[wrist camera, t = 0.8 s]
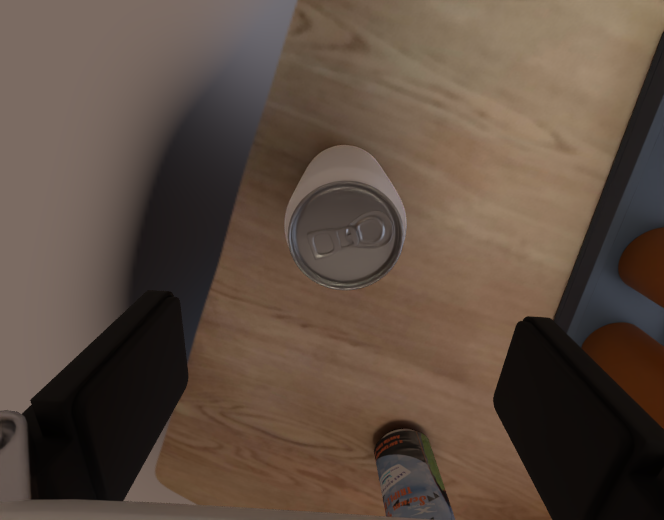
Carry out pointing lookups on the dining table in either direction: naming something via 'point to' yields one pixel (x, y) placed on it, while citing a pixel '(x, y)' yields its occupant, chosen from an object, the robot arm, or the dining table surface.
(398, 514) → the beverage can
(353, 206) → the can
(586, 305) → the tray
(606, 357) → the amber bottle
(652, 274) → the amber bottle
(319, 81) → the dining table surface
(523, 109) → the dining table surface
